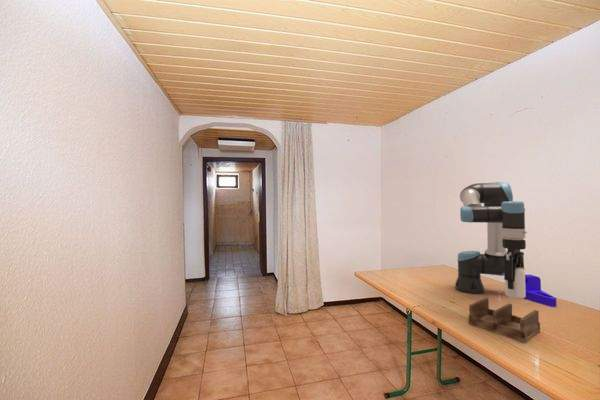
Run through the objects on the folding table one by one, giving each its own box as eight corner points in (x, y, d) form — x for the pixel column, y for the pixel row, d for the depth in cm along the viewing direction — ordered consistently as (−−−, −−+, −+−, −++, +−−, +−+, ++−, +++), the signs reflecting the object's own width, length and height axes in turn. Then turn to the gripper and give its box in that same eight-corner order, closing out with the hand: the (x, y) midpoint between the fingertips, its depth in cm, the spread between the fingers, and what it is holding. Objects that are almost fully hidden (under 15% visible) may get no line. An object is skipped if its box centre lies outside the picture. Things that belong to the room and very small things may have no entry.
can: (529, 299, 106) (528, 268, 107) (510, 298, 108) (509, 268, 108) (519, 294, 113) (518, 265, 113) (502, 293, 114) (501, 264, 114)
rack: (468, 323, 118) (468, 304, 118) (485, 315, 127) (484, 297, 127) (526, 342, 101) (525, 320, 101) (540, 331, 110) (539, 311, 110)
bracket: (515, 295, 153) (514, 274, 154) (533, 295, 153) (533, 274, 154) (544, 307, 135) (543, 283, 136) (565, 307, 136) (564, 283, 136)
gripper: (515, 241, 102) (517, 302, 102) (533, 237, 113) (535, 293, 113) (492, 239, 109) (494, 297, 108) (511, 236, 119) (513, 288, 119)
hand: (515, 295), depth 110 cm, fingers closed on can, 6 cm apart
